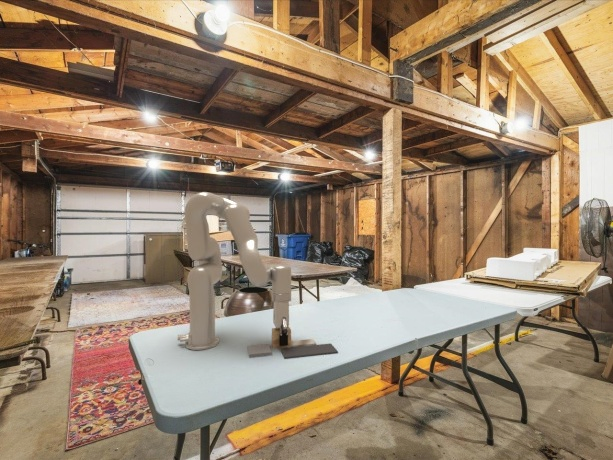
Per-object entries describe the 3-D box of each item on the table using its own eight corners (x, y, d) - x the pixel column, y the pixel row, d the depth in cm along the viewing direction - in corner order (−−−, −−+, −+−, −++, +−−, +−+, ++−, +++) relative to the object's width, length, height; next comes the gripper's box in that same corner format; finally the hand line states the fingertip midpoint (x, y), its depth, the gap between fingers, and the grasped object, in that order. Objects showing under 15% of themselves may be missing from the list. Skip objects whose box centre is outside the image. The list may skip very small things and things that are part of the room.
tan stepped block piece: (273, 349, 115) (273, 332, 115) (271, 344, 120) (271, 327, 120) (316, 344, 119) (316, 328, 119) (312, 340, 124) (312, 324, 124)
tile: (247, 350, 115) (249, 359, 107) (247, 346, 115) (249, 354, 107) (268, 348, 117) (271, 356, 109) (268, 343, 117) (271, 352, 109)
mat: (284, 358, 106) (284, 357, 106) (280, 349, 114) (280, 348, 114) (337, 353, 111) (337, 351, 111) (330, 344, 119) (330, 343, 119)
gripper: (269, 292, 125) (269, 334, 126) (275, 302, 109) (275, 351, 109) (286, 291, 127) (286, 332, 127) (295, 301, 110) (295, 348, 111)
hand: (281, 341), depth 118 cm, fingers open, 8 cm apart
